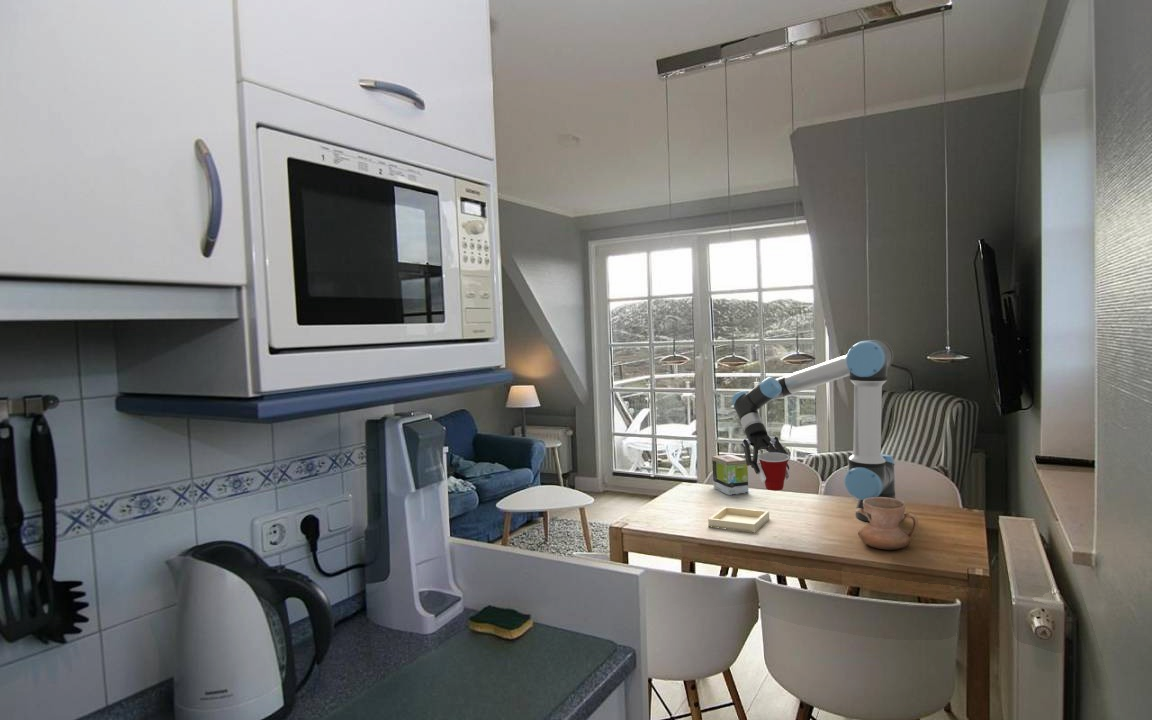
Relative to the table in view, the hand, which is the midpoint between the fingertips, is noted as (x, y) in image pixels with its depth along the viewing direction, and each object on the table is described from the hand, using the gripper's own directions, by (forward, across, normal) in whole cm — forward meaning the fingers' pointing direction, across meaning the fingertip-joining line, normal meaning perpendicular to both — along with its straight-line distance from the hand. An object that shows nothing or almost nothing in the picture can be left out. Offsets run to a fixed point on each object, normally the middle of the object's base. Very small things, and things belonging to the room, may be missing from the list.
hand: (776, 479), depth 225 cm
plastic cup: (+2, 0, -4) cm, 4 cm away
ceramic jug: (+32, -22, +8) cm, 40 cm away
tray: (+5, +10, -20) cm, 23 cm away
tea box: (-25, -7, -52) cm, 58 cm away
